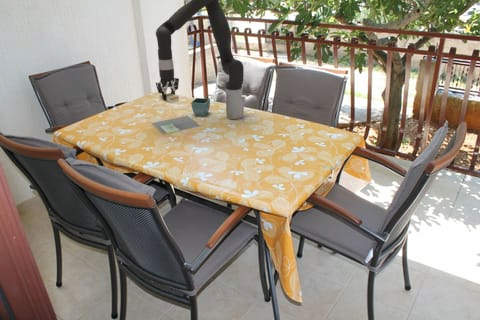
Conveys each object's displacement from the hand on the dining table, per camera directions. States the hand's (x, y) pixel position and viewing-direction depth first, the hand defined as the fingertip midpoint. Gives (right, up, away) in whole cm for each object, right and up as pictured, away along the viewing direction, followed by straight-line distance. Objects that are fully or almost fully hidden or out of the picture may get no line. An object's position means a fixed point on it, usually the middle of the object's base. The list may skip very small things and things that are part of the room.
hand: (169, 99), depth 216 cm
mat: (+2, -13, +9) cm, 16 cm away
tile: (0, -1, 0) cm, 1 cm away
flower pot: (+15, -6, +23) cm, 28 cm away
